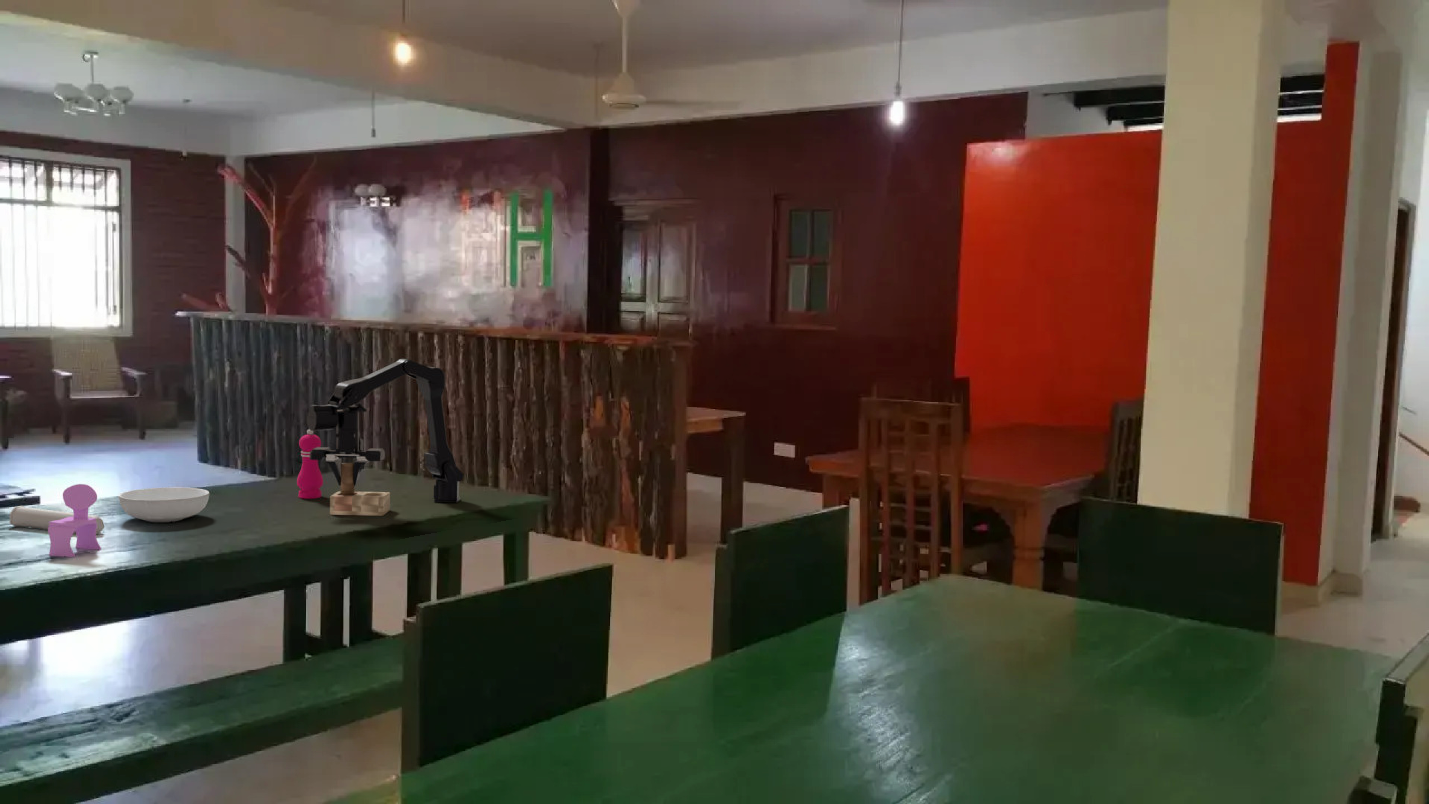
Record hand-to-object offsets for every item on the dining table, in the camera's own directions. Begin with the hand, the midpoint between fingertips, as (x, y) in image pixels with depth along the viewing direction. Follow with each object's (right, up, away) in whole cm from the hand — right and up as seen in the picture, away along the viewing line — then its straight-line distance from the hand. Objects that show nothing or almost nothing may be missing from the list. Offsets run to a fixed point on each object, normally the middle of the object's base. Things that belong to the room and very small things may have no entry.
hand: (347, 485), depth 298 cm
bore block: (+3, -7, +1) cm, 8 cm away
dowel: (0, -4, 0) cm, 4 cm away
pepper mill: (-18, -5, +21) cm, 29 cm away
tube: (-59, -9, -33) cm, 68 cm away
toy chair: (-42, -11, -55) cm, 70 cm away
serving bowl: (-42, -8, -16) cm, 45 cm away
